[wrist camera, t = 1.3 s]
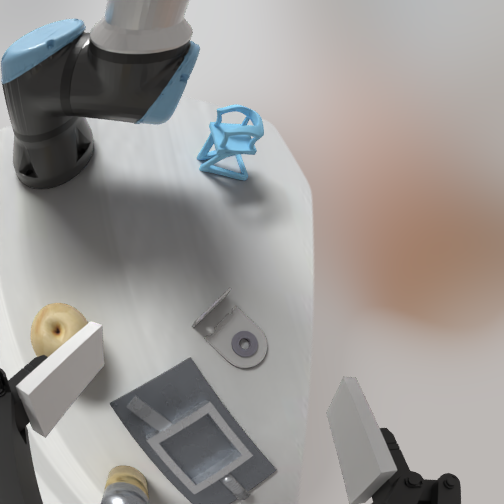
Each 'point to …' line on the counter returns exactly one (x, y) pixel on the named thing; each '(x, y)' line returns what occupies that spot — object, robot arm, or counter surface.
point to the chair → (231, 141)
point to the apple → (55, 327)
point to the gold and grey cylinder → (125, 487)
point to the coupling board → (192, 437)
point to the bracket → (236, 337)
